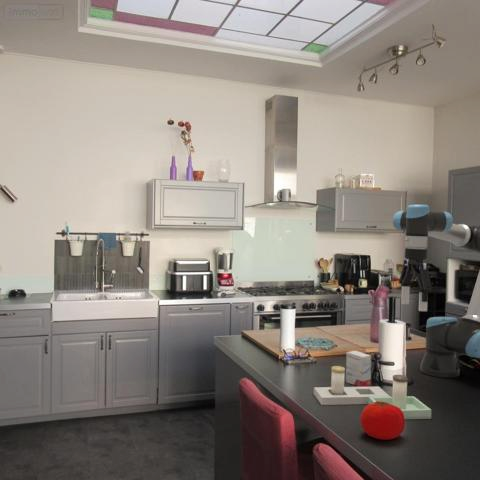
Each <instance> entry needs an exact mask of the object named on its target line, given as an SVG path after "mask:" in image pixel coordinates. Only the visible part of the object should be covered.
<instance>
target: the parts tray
mask: <svg viewBox="0 0 480 480" xmlns="http://www.w3.org/2000/svg"><path fill="white" fill-rule="evenodd" d="M376 401H378V402H379V401H383V402H387V403H389V404H391V405H392V396H390V397H369V404H373V403H374V402H376ZM369 404H368V405H369ZM401 411H402V412H403V414H404V419H405V420H426V419H429V420H431V419H432V409H431V408H430V407H428V406H427V405H426V404H424V403H423V402H422V401H420V400H419V399H418V397H417V398H416V396H413V395H412V396H411V395H410V396H409V395H408V396H407V397H406V409H401Z"/></svg>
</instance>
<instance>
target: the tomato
mask: <svg viewBox="0 0 480 480" xmlns="http://www.w3.org/2000/svg"><path fill="white" fill-rule="evenodd" d="M405 420H406V419H404V414H403V412H402V411H401V409H400V408H398V407H397V406H394V405H391V404H389V403H387V402H383V401H379V402H378V401H376V402H374V403H373V404H366V405H365V406H364V408H363V409H362V410H361V415H360V422H361V427H362V429H363V430H364V433H365V434H367V435H368V436H369V437H371V438H373V439H377V440H385V441H386V440H392V439H393V440H394V439H397V438H398V437H400V436H401V434H403V431H404V430H405V425H406V424H405V423H406V421H405Z"/></svg>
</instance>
